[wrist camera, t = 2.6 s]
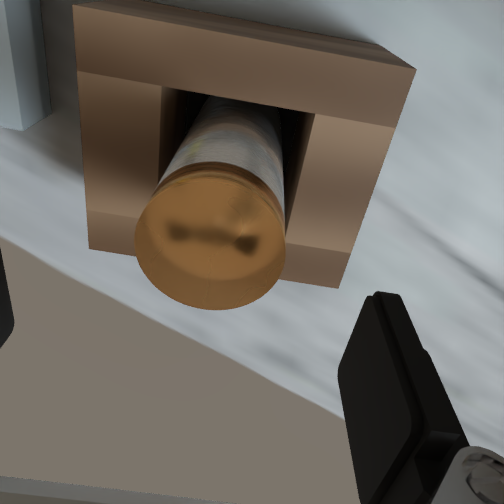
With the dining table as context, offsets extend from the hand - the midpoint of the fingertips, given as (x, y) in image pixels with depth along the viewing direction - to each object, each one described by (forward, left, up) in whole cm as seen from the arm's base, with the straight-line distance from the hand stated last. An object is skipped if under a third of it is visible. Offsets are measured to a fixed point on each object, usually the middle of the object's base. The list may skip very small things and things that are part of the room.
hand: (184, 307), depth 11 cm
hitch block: (-1, 0, -14) cm, 14 cm away
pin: (-1, 0, -14) cm, 14 cm away
